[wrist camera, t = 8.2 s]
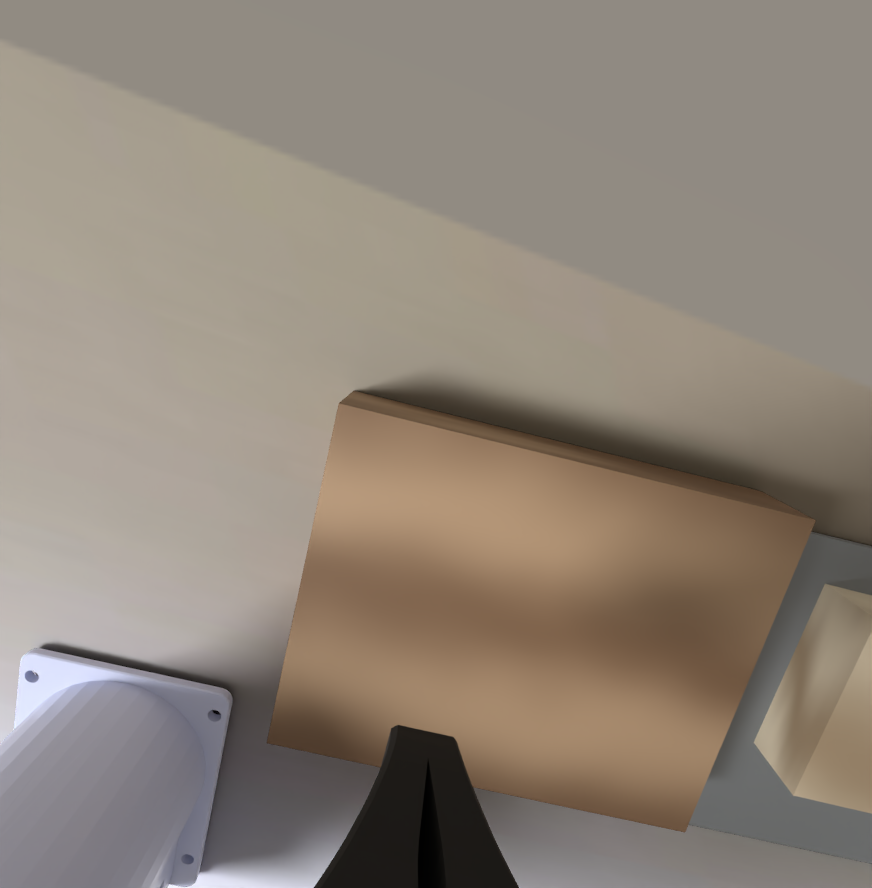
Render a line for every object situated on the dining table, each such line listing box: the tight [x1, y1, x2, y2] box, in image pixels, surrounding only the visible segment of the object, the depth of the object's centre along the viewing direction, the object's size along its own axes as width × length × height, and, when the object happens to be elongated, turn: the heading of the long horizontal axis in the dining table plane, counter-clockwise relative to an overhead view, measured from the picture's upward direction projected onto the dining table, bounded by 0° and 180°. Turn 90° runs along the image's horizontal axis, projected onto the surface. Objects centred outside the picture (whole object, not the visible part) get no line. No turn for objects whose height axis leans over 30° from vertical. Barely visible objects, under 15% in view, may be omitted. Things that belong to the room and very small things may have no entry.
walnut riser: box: [267, 391, 816, 832], centre depth 20 cm, size 12×15×3 cm
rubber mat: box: [688, 531, 872, 864], centre depth 22 cm, size 13×12×1 cm
